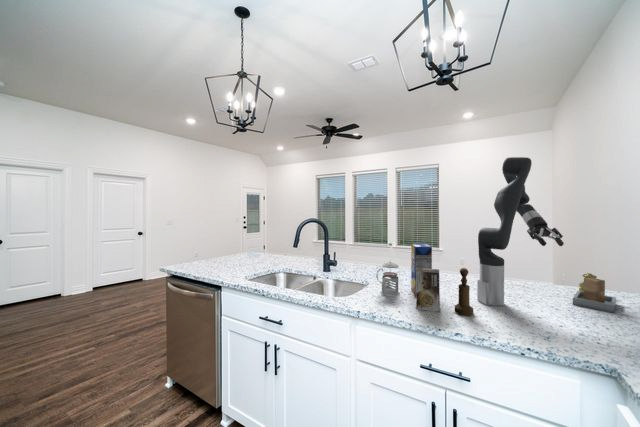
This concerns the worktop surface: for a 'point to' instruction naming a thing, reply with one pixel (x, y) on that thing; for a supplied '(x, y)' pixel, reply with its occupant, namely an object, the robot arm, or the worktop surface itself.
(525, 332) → the worktop surface
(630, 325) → the worktop surface
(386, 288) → the french press
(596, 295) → the block
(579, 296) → the parts tray
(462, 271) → the brown chess piece
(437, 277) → the coffee box
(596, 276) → the olive green lumpy figure
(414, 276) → the juice carton
